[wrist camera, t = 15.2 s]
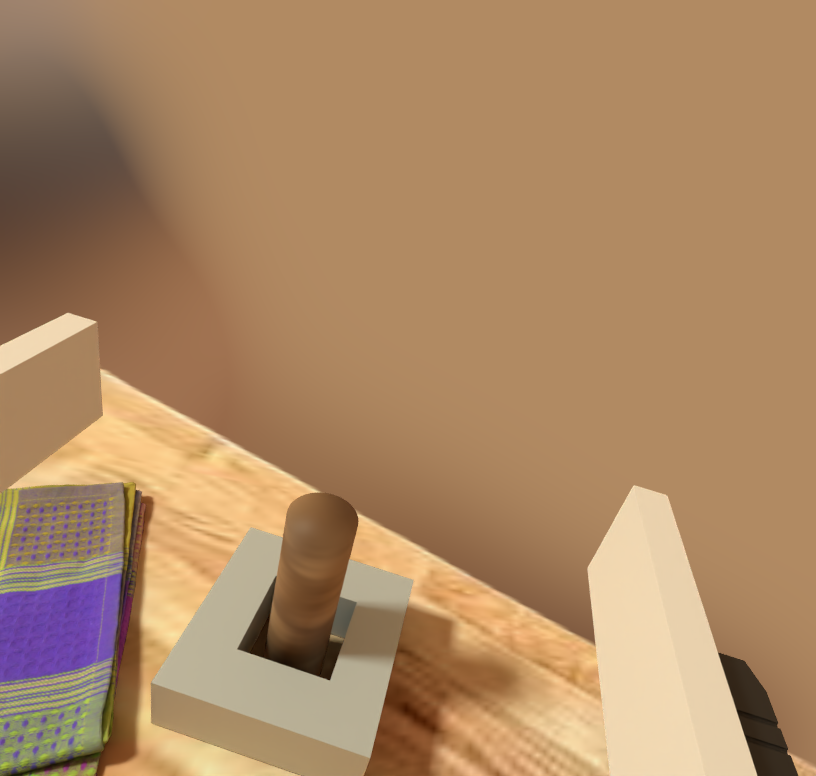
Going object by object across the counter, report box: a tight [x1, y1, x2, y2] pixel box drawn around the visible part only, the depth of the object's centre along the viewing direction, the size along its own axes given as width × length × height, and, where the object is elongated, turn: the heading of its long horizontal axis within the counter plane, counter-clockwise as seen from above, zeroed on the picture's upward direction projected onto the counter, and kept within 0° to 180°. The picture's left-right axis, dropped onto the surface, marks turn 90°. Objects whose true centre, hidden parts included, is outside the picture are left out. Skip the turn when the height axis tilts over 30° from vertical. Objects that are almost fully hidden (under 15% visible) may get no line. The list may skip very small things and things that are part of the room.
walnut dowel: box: [263, 493, 358, 677], centre depth 39 cm, size 4×4×15 cm
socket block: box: [151, 528, 414, 776], centre depth 41 cm, size 14×14×4 cm
